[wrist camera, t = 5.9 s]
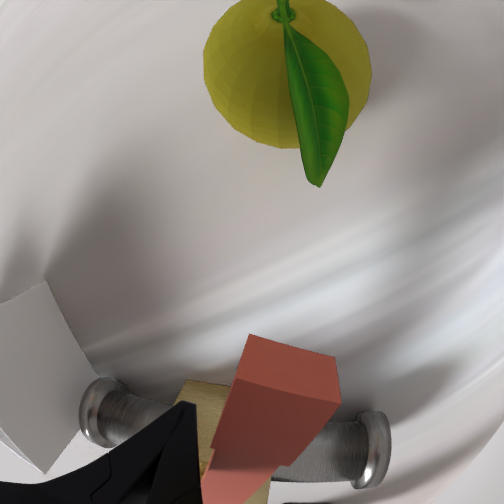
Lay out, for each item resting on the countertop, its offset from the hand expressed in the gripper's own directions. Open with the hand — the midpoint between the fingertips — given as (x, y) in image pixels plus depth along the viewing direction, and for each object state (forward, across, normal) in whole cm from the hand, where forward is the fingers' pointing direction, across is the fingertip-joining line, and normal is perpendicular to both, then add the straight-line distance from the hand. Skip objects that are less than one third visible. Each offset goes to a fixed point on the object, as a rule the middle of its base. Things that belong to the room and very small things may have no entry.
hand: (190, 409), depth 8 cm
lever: (0, -2, +4) cm, 4 cm away
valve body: (+7, -1, +9) cm, 12 cm away
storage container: (+8, +24, +13) cm, 28 cm away
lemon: (+7, -1, -11) cm, 14 cm away
